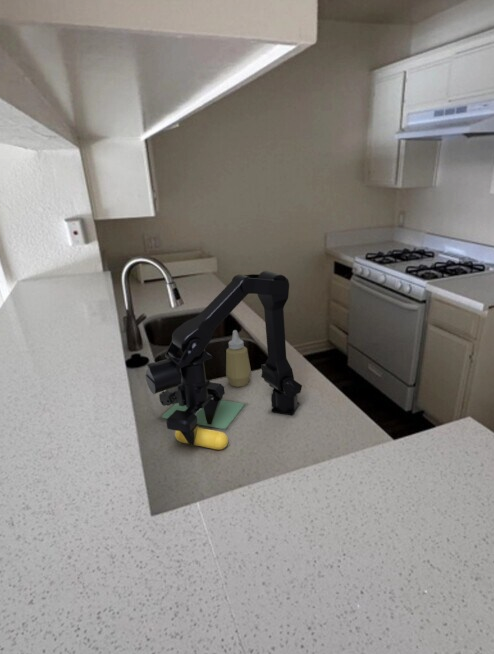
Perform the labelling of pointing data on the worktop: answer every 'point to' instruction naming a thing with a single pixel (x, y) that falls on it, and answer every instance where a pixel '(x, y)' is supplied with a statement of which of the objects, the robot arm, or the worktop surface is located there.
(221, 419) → the towel
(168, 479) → the worktop surface
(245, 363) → the squeeze bottle
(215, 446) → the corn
